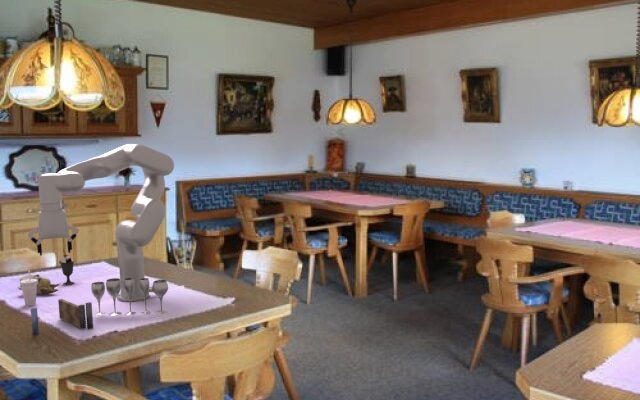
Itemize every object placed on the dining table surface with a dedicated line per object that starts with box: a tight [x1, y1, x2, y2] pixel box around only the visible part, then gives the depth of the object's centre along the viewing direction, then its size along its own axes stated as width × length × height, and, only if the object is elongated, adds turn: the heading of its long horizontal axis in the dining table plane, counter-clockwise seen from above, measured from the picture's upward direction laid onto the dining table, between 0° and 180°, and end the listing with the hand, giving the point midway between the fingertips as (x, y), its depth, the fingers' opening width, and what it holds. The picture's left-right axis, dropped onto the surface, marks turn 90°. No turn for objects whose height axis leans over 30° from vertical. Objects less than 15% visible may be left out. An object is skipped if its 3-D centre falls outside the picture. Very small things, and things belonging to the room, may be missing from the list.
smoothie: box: [19, 269, 38, 307], centre depth 250 cm, size 6×6×14 cm
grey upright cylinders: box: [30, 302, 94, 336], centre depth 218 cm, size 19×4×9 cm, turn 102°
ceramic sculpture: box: [19, 274, 60, 295], centre depth 266 cm, size 11×9×15 cm
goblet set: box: [91, 277, 169, 317], centre depth 237 cm, size 28×6×13 cm, turn 92°
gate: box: [57, 298, 87, 330], centre depth 226 cm, size 18×2×8 cm, turn 47°
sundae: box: [58, 249, 75, 286], centre depth 281 cm, size 7×7×15 cm
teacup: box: [18, 273, 42, 289], centre depth 278 cm, size 10×10×5 cm
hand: (55, 253), depth 235 cm, fingers open, 9 cm apart
